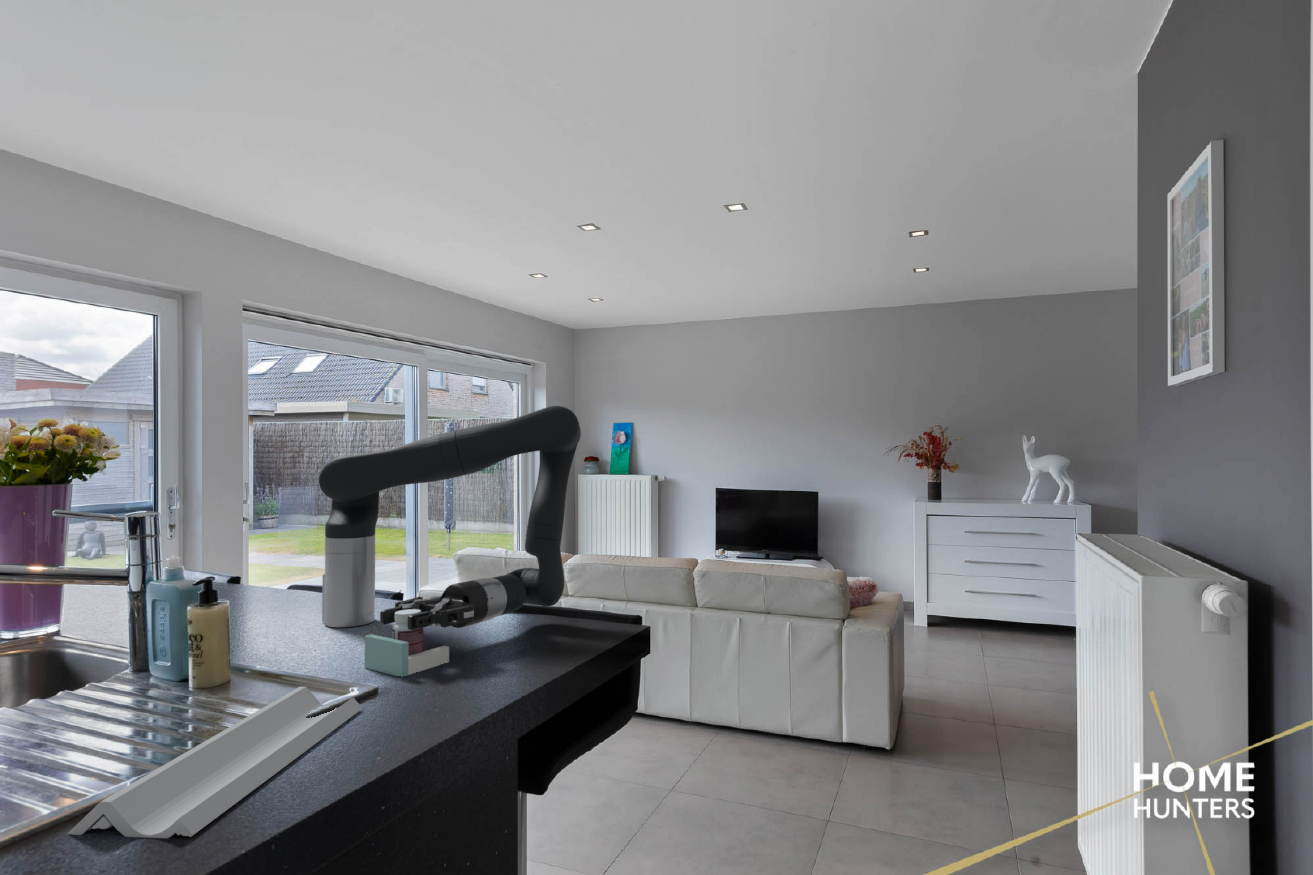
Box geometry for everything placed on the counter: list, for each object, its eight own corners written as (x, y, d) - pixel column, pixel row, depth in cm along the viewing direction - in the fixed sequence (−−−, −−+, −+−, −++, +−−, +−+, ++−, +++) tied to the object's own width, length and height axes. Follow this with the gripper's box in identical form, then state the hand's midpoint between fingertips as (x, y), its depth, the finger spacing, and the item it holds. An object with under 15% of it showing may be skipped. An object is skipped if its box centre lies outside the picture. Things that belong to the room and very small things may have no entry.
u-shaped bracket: (364, 667, 113) (364, 635, 113) (412, 653, 121) (412, 623, 121) (401, 677, 108) (401, 643, 108) (449, 661, 116) (449, 630, 116)
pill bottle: (430, 661, 116) (430, 609, 116) (407, 669, 112) (407, 615, 112) (408, 658, 118) (408, 607, 118) (385, 666, 114) (385, 613, 114)
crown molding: (190, 846, 63) (191, 805, 63) (63, 842, 64) (63, 801, 64) (361, 715, 94) (361, 687, 94) (274, 713, 95) (274, 685, 95)
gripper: (446, 576, 131) (366, 591, 116) (504, 584, 123) (426, 601, 109) (446, 617, 131) (365, 638, 116) (504, 628, 123) (425, 651, 109)
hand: (395, 620), depth 113 cm, fingers open, 6 cm apart
